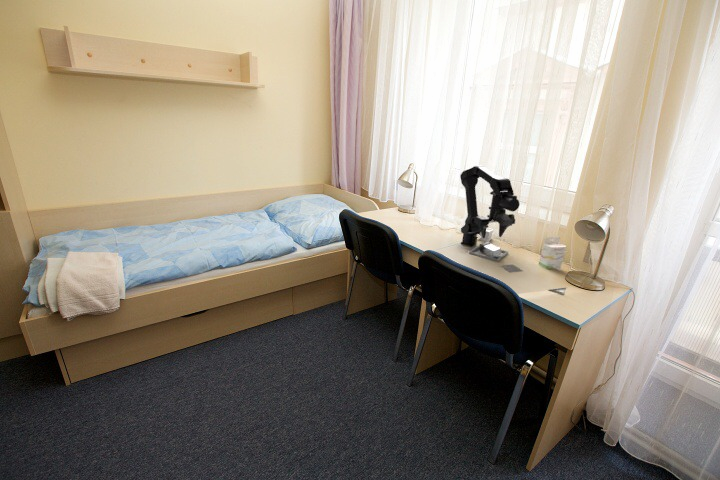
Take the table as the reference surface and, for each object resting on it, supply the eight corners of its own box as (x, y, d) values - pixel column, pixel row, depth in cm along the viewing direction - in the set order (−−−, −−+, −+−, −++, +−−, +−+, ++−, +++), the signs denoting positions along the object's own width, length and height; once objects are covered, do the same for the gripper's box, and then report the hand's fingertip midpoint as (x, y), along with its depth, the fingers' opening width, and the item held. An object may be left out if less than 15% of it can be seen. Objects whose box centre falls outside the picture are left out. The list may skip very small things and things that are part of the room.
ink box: (545, 271, 150) (553, 241, 145) (537, 267, 155) (544, 237, 149) (561, 270, 152) (569, 239, 147) (552, 265, 157) (560, 236, 152)
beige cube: (491, 239, 189) (493, 229, 186) (487, 242, 184) (489, 231, 182) (480, 236, 192) (482, 226, 190) (476, 239, 187) (478, 229, 185)
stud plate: (498, 268, 151) (499, 265, 151) (512, 267, 153) (512, 264, 153) (509, 275, 145) (509, 272, 145) (522, 274, 147) (523, 271, 146)
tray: (468, 256, 164) (469, 251, 163) (479, 248, 174) (480, 244, 173) (497, 264, 156) (498, 259, 155) (507, 256, 166) (508, 251, 165)
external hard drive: (539, 289, 136) (546, 278, 145) (562, 296, 131) (568, 285, 140) (540, 285, 135) (547, 275, 144) (563, 292, 130) (569, 281, 139)
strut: (479, 244, 165) (492, 250, 156) (488, 241, 166) (501, 247, 157) (480, 253, 167) (493, 259, 158) (488, 250, 168) (501, 256, 159)
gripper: (490, 211, 146) (485, 244, 151) (526, 209, 151) (519, 242, 156) (476, 204, 156) (471, 236, 162) (510, 203, 161) (504, 234, 166)
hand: (491, 237), depth 161 cm, fingers open, 9 cm apart
